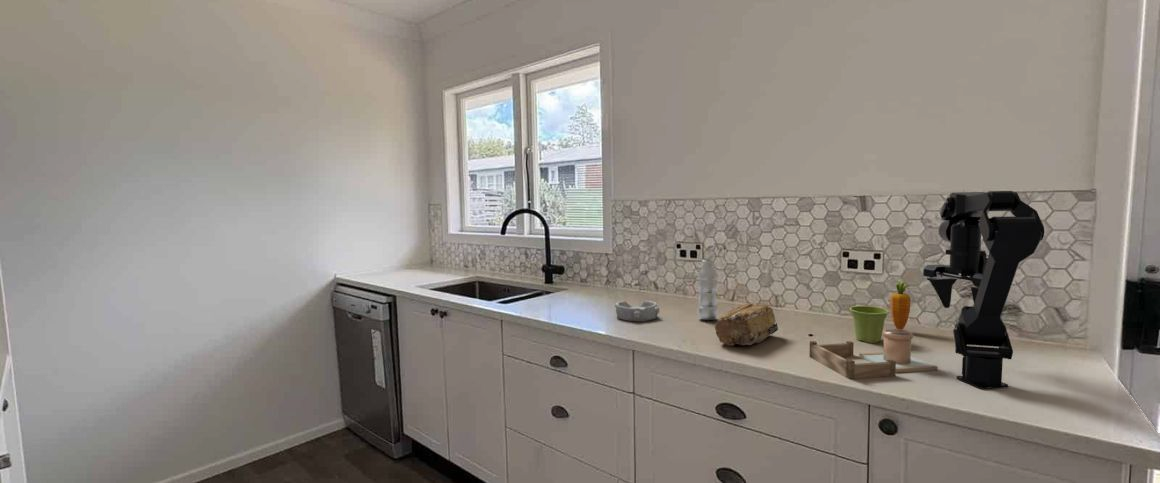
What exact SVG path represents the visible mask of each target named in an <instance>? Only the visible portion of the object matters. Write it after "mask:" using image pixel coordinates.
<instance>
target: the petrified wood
mask: <svg viewBox="0 0 1160 483" xmlns="http://www.w3.org/2000/svg"><path fill="white" fill-rule="evenodd" d="M778 326H779V325H778V322H776V317H775V313H774V310H773V308H772V307H770V306H769V305H768V304H766V303H763V302H761V303H756V304H754V303H751V302H747V303H745V304H741V305H738V306H737V307H735V308H733V309H732V310H730V311H729V312H727V313H725V314H724V315H722V316H721V317H720V318H719V319H718V320H717V322H716V323H715V325H714V328H715V334H716V336H717V339H718V340H719V342H720V343H722V344H724V345H725V346H727V347H734V346H736V345H738V346H751V345H752V346H753V344H761V342H763V341H764V340H765V339H767V338H768V337H769V336H770V335H773V334H774V333H776V332H777V331H778V330H779V327H778Z"/></svg>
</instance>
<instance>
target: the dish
mask: <svg viewBox="0 0 1160 483" xmlns="http://www.w3.org/2000/svg"><path fill="white" fill-rule="evenodd" d="M614 306H615V307H614V308H615V311H616V312H615V314H616V317H617V318H618V319H620V320H623V321H631V322H646V321H652V320H654V319H657V317H658V314H660V311H661V310H660V308H659V307H658V305H657V302H656V301H655V302H654V301H650V300H644V301H643V302H642V304H641V305H638V306H631V305H630V304H629V303H628V302H627V301H626V300H621V301H618V302H616V303H615V305H614Z"/></svg>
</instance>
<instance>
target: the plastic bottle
mask: <svg viewBox="0 0 1160 483" xmlns="http://www.w3.org/2000/svg"><path fill="white" fill-rule="evenodd" d="M701 266H702V267H701V269H700V270H699V271H698V274H697V280H698V287H699V288H698V292H699V297H698V306H697V311H696V314H697V316H698V318H699V320H703V321H712V320H713V321H714V320H716V319H717V318H718V314H719V311H718V306H717V286H718V279H719V275H718V272H717V270H716V269H715V267H714V259H709V258H707V259H706V258H705V259H701Z"/></svg>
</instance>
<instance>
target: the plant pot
mask: <svg viewBox="0 0 1160 483" xmlns="http://www.w3.org/2000/svg"><path fill="white" fill-rule="evenodd" d="M849 311H851V316H852V319H853V326H854V335H855V339H856V340H857V341H863V342H864V343H871V344H875V343H876V344H877V343H879V342H881V341H882V336H883V330H884V326H885V320H886V318H887V316H888V314H889V312H890V311H889V310H888V309H886V308H884V307H879V306H873V305H872V306H870V305H854V306H851V307H850V308H849Z"/></svg>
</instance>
